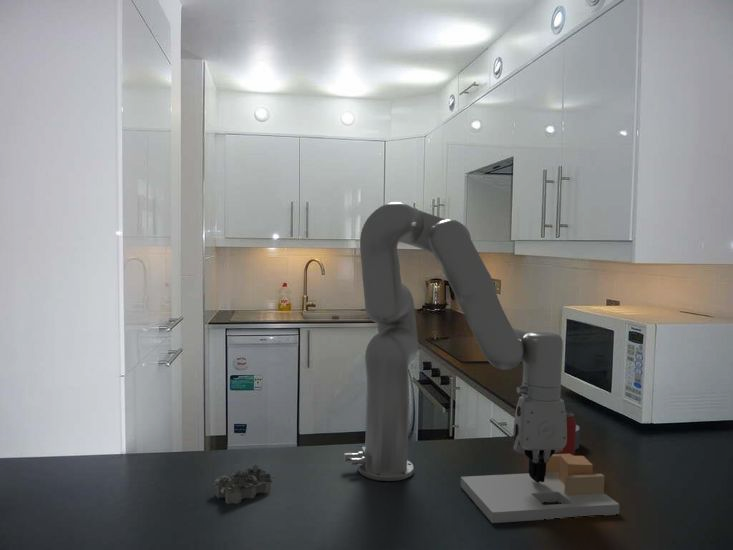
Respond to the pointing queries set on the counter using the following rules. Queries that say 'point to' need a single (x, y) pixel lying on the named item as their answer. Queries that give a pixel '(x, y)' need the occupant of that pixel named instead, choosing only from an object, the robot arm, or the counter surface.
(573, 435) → the beer can
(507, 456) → the counter surface
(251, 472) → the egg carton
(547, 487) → the white flat board
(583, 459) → the block
